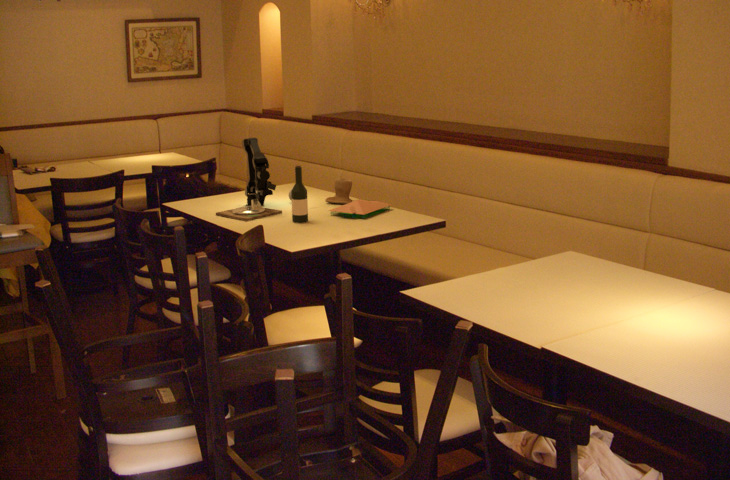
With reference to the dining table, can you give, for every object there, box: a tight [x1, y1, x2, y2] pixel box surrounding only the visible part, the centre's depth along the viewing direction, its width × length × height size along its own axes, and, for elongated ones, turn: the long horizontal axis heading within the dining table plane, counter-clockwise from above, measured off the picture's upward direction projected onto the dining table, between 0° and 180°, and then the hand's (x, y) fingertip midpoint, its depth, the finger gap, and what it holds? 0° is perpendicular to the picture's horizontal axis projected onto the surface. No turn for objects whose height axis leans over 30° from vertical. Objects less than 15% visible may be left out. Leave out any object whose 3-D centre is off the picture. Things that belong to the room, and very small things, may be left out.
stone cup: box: [324, 177, 353, 205], centre depth 440 cm, size 15×12×15 cm
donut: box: [288, 187, 293, 202], centre depth 444 cm, size 10×4×10 cm, turn 121°
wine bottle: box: [291, 164, 309, 224], centre depth 391 cm, size 8×8×30 cm
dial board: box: [215, 205, 283, 222], centre depth 414 cm, size 26×26×2 cm
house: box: [328, 199, 392, 220], centre depth 413 cm, size 23×33×8 cm
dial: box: [232, 199, 266, 215], centre depth 413 cm, size 22×18×6 cm
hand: (262, 205), depth 417 cm, fingers closed
